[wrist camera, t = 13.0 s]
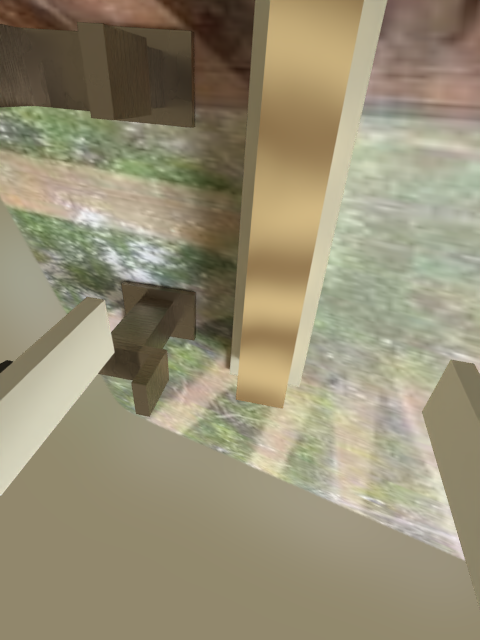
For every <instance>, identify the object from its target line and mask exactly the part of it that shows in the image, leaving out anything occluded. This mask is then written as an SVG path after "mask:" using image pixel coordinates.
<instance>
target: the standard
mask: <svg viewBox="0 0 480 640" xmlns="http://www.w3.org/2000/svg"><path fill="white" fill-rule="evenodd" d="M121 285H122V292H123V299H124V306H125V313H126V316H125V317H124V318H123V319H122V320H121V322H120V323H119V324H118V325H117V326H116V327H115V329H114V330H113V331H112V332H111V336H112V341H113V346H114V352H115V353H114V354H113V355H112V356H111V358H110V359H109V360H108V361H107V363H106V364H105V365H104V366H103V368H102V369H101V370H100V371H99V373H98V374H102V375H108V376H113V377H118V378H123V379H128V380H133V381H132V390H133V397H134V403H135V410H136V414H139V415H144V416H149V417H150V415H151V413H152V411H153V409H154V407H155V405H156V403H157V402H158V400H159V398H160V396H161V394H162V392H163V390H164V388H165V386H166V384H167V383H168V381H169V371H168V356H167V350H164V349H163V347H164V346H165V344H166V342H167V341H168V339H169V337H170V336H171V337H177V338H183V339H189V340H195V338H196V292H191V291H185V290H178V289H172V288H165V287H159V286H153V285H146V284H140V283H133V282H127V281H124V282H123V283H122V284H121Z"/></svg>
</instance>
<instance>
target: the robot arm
mask: <svg viewBox="0 0 480 640" xmlns="http://www.w3.org/2000/svg"><path fill="white" fill-rule="evenodd" d="M114 353H115V352H114V346H113V341H112V336H111V331H110V325H109V320H108V315H107V310H106V304H105V300H103V299H97V298H91V297H86V298H85V299H84V300H83V301H82V302H81V303H80V304H78V305H77V306H76V307H75V308H74V309H73V310H72V311H70V312H69V313H68V314H67V315H66V316H65V317H64V318H63V319H62V320H60V321H59V322H58V323H57V324H56V325H55V326H53V327H52V328H51V329H50V330H49V331H48V332H47V333H46V334H44V335H43V336H42V337H41V338H40V339H39V340H38V341H37V342H35V343H34V344H33V345H32V346H31V347H30V348H29V349H27V350H26V351H25V352H24V353H23V354H22V355H21V356H20V357H18V358H17V359H16V360H15V361H14V362H13V361H8V360H7V361H5V362H3V363H1V364H0V495H2V494H3V492H4V491H5V490H6V489H7V487H8V486H9V485H10V484H11V482H12V481H13V480H14V478H15V477H16V476H17V475H18V473H19V472H20V471H21V470H22V468H23V467H24V466H25V464H26V463H27V462H28V461H29V460H30V458H31V457H32V456H33V454H34V453H35V452H36V451H37V449H38V448H39V447H40V446H41V444H42V443H43V442H44V441H45V439H46V438H47V437H48V436H49V434H50V433H51V432H52V431H53V429H54V428H55V427H56V426H57V424H58V423H59V422H60V421H61V419H62V418H63V417H64V416H65V414H66V413H67V412H68V410H69V409H70V407H72V405H73V404H74V403H75V402H76V400H77V399H78V398H79V396H80V395H81V394H82V393H83V391H84V390H85V389H86V388H87V387H88V385H89V384H90V383H91V381H92V380H93V379H94V378H95V376H96V375H97V374H98V373H99V371H100V370H101V369H102V368H103V366H104V365H105V364H106V363H107V361H108V360H109V359H110V358H111V356H112V355H113V354H114ZM422 414H423V417H424V420H425V424H426V427H427V431H428V434H429V437H430V441H431V444H432V448H433V451H434V455H435V458H436V461H437V465H438V468H439V472H440V475H441V478H442V482H443V485H444V489H445V492H446V496H447V499H448V502H449V506H450V509H451V513H452V516H453V519H454V523H455V526H456V530H457V533H458V537H459V540H460V543H461V547H462V550H463V554H464V557H465V560H466V564H467V567H468V570H469V574H470V577H471V581H472V584H473V587H474V591H475V595H476V598H477V601H478V604H479V608H480V374H479V372H478V370H477V368H476V366H475V365H474V364H473V363H467V362H461V361H455V360H450V362H449V364H448V366H447V368H446V369H445V371H444V373H443V375H442V377H441V378H440V380H439V382H438V384H437V386H436V388H435V389H434V391H433V393H432V395H431V397H430V398H429V400H428V402H427V404H426V406H425V407H424V409H423V411H422Z"/></svg>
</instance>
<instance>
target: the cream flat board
mask: <svg viewBox="0 0 480 640" xmlns="http://www.w3.org/2000/svg"><path fill="white" fill-rule="evenodd" d="M386 3H387V0H364V3H363V8H362V13H361V18H360V23H359V28H358V33H357V38H356V43H355V48H354V53H353V58H352V63H351V68H350V73H349V78H348V83H347V88H346V93H345V98H344V103H343V108H342V113H341V118H340V123H339V128H338V134H337V139H336V144H335V149H334V154H333V159H332V164H331V169H330V174H329V179H328V184H327V189H326V194H325V199H324V204H323V209H322V214H321V219H320V224H319V229H318V234H317V239H316V244H315V249H314V254H313V259H312V264H311V269H310V274H309V279H308V284H307V289H306V294H305V299H304V304H303V309H302V314H301V319H300V324H299V329H298V334H297V339H296V344H295V349H294V354H293V359H292V364H291V369H290V374H289V379H288V384H287V385H291V386H297V387H299V386H300V382H301V377H302V373H303V368H304V364H305V360H306V355H307V351H308V346H309V342H310V338H311V333H312V329H313V324H314V320H315V316H316V311H317V307H318V302H319V298H320V294H321V289H322V285H323V280H324V276H325V272H326V267H327V263H328V258H329V254H330V250H331V245H332V241H333V237H334V232H335V228H336V223H337V219H338V215H339V210H340V206H341V201H342V197H343V193H344V188H345V184H346V179H347V175H348V171H349V166H350V162H351V157H352V153H353V149H354V144H355V140H356V135H357V131H358V127H359V122H360V118H361V113H362V109H363V105H364V100H365V96H366V91H367V87H368V83H369V78H370V74H371V69H372V65H373V61H374V56H375V52H376V47H377V43H378V39H379V34H380V30H381V25H382V21H383V17H384V12H385V8H386ZM269 10H270V0H255V11H254V25H253V40H252V55H251V70H250V84H249V99H248V114H247V128H246V143H245V158H244V172H243V187H242V202H241V216H240V231H239V246H238V261H237V275H236V290H235V305H234V319H233V334H232V349H231V363H230V374H232V375H237V376H238V370H239V358H240V346H241V335H242V323H243V312H244V300H245V288H246V277H247V265H248V254H249V242H250V230H251V219H252V207H253V196H254V184H255V172H256V161H257V149H258V138H259V126H260V114H261V103H262V91H263V79H264V68H265V56H266V45H267V33H268V21H269Z"/></svg>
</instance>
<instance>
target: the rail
mask: <svg viewBox="0 0 480 640" xmlns="http://www.w3.org/2000/svg"><path fill="white" fill-rule="evenodd" d="M363 3H364V0H270V10H269V21H268V33H267V45H266V56H265V68H264V79H263V91H262V103H261V114H260V126H259V138H258V149H257V161H256V172H255V184H254V196H253V207H252V219H251V230H250V242H249V254H248V265H247V277H246V288H245V300H244V312H243V323H242V335H241V346H240V358H239V370H238V381H237V393H236V400H241V401H247V402H252V403H257V404H262V405H267V406H273V407H278V408H283V404H284V399H285V394H286V389H287V384H288V379H289V374H290V369H291V364H292V359H293V354H294V349H295V344H296V339H297V334H298V329H299V324H300V319H301V314H302V309H303V304H304V299H305V294H306V289H307V284H308V279H309V274H310V269H311V264H312V259H313V254H314V249H315V244H316V239H317V234H318V229H319V224H320V219H321V214H322V209H323V204H324V199H325V194H326V189H327V184H328V179H329V174H330V169H331V164H332V159H333V154H334V149H335V144H336V139H337V134H338V128H339V123H340V118H341V113H342V108H343V103H344V98H345V93H346V88H347V83H348V78H349V73H350V68H351V63H352V58H353V53H354V48H355V43H356V38H357V33H358V28H359V23H360V18H361V13H362V8H363Z"/></svg>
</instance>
